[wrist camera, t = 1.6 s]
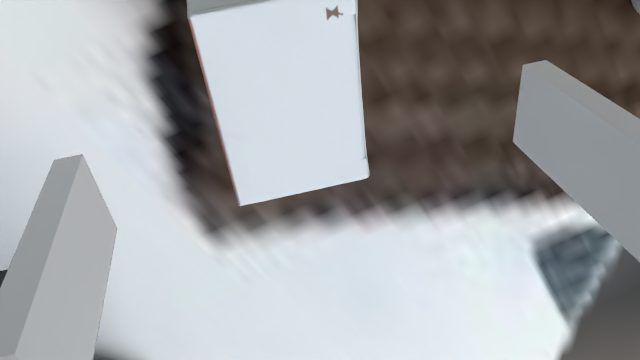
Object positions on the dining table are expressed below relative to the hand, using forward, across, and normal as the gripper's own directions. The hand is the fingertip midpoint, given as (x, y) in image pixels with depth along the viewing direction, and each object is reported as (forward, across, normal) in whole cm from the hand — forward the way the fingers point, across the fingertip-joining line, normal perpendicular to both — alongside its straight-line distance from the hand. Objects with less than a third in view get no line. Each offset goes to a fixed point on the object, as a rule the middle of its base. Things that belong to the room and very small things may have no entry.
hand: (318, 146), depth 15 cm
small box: (+14, 0, 0) cm, 14 cm away
